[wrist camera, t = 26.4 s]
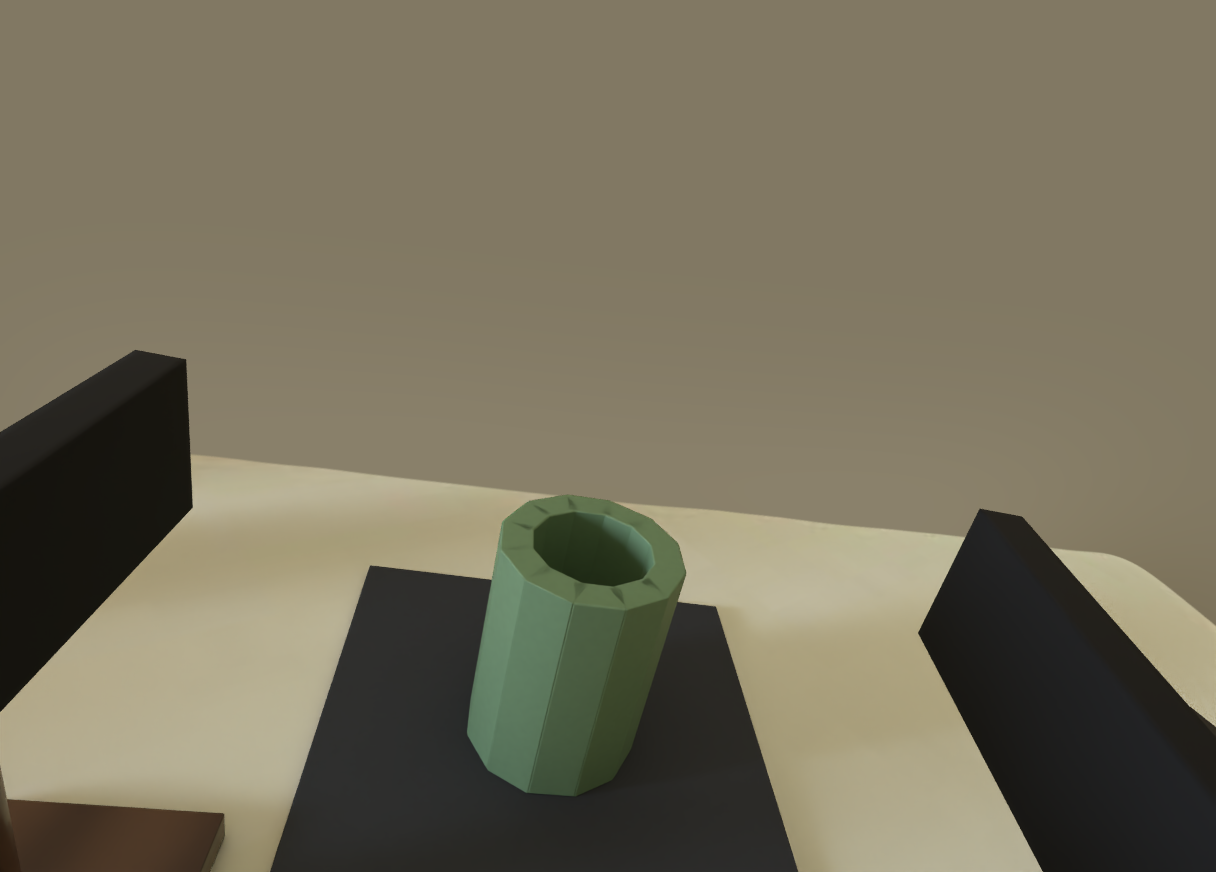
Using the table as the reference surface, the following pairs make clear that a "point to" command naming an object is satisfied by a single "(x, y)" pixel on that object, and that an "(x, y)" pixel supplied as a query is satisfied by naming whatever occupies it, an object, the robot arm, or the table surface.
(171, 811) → the peg stand
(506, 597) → the hollow cylinder
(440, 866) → the placemat
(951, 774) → the table surface
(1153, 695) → the robot arm
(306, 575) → the table surface
